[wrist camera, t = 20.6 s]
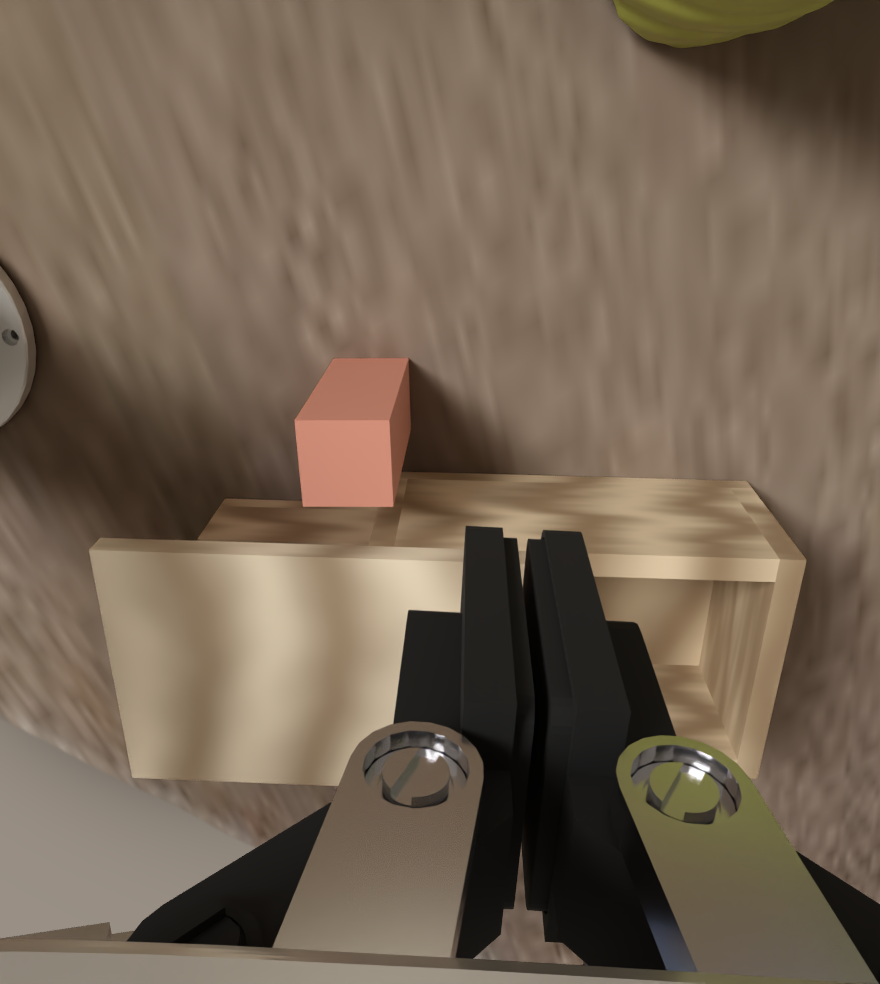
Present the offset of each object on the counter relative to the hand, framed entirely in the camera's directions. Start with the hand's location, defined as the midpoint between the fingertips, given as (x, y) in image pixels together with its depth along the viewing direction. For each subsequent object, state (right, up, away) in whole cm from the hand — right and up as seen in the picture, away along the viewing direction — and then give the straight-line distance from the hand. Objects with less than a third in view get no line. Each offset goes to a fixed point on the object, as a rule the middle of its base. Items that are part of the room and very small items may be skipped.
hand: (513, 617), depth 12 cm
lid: (-7, -7, +28) cm, 30 cm away
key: (-5, +7, +32) cm, 33 cm away
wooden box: (+1, -3, +36) cm, 36 cm away
